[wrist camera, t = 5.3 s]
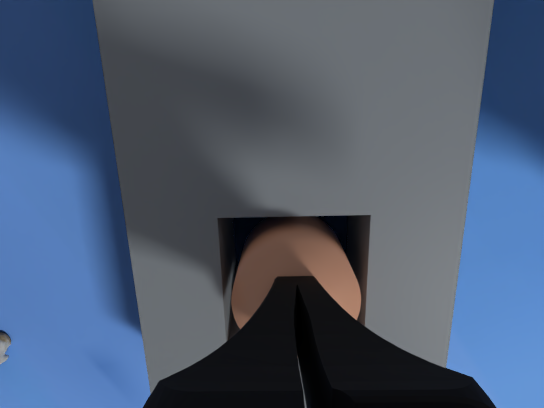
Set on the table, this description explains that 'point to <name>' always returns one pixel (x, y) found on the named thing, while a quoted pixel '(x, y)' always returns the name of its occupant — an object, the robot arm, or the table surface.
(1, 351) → the bull figurine
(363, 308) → the block
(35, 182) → the table surface
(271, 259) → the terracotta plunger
